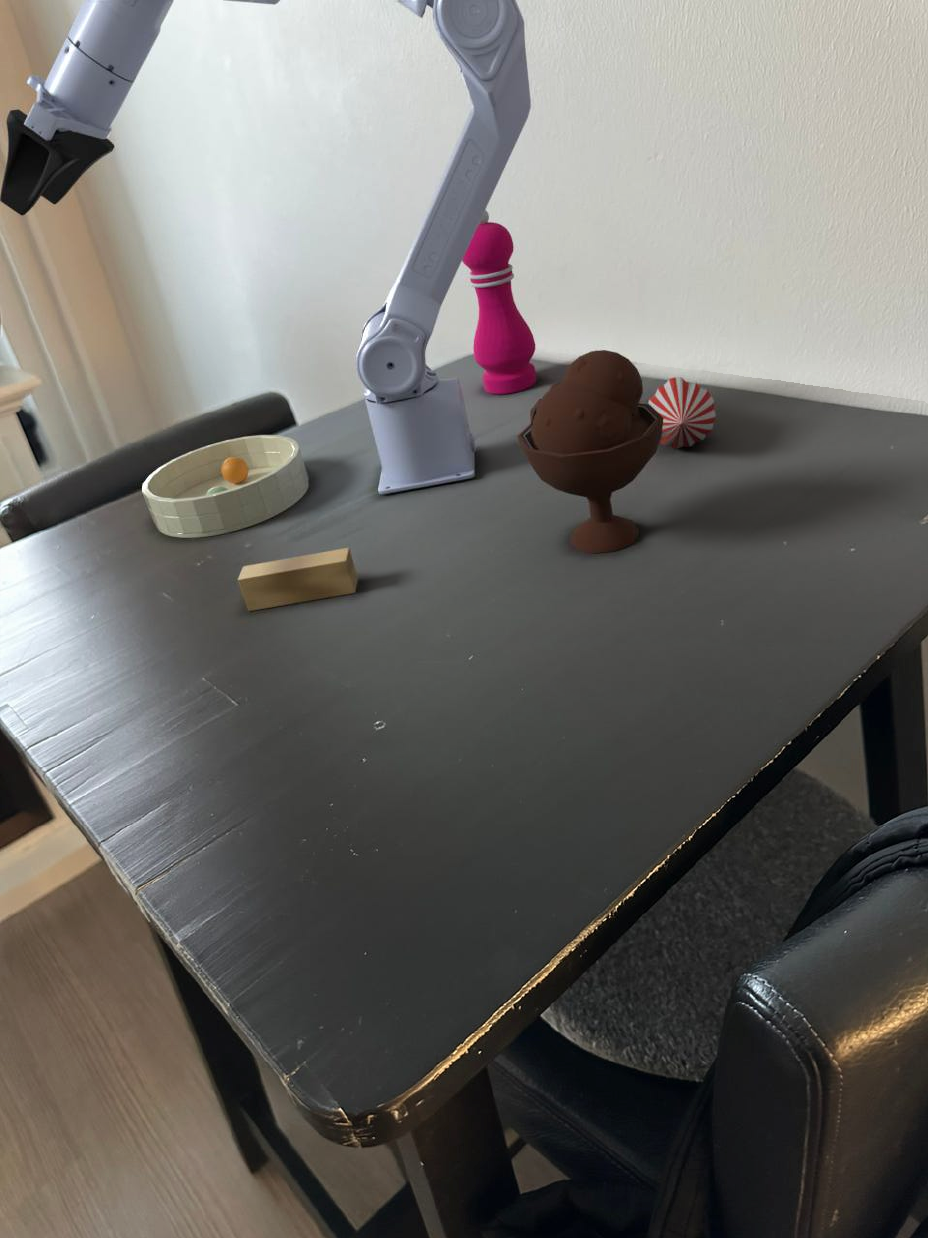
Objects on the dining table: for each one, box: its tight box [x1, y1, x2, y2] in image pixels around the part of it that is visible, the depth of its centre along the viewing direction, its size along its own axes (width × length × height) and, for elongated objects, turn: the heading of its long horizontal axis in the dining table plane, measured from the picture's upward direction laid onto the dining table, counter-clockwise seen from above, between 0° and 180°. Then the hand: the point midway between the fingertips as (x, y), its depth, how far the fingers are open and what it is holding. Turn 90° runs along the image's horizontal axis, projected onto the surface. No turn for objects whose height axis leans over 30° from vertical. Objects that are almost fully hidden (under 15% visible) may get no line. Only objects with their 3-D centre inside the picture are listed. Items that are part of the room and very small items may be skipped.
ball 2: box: [221, 457, 248, 484], centre depth 109 cm, size 3×3×3 cm
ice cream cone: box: [648, 376, 717, 449], centre depth 97 cm, size 6×6×20 cm
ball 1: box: [206, 486, 228, 495], centre depth 102 cm, size 3×3×3 cm
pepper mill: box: [461, 209, 538, 395], centre depth 116 cm, size 7×7×20 cm
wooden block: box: [237, 547, 359, 612], centre depth 84 cm, size 9×2×3 cm, turn 90°
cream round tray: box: [141, 434, 310, 539], centre depth 105 cm, size 16×16×4 cm
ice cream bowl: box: [517, 349, 663, 554], centre depth 79 cm, size 11×11×15 cm
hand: (29, 202), depth 89 cm, fingers open, 7 cm apart
